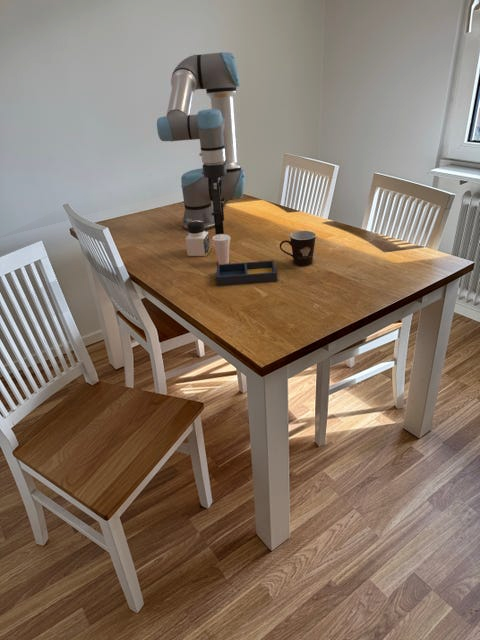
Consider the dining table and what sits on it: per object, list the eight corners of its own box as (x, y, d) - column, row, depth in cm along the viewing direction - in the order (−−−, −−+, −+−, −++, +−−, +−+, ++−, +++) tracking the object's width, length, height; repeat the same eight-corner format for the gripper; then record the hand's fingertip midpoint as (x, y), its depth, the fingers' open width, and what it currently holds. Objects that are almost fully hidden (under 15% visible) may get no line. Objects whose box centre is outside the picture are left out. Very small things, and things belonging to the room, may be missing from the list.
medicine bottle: (205, 256, 169) (202, 225, 163) (187, 256, 170) (183, 225, 164) (210, 249, 175) (207, 218, 169) (192, 249, 176) (188, 219, 170)
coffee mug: (317, 258, 160) (318, 231, 155) (312, 268, 153) (313, 240, 148) (285, 256, 164) (284, 229, 159) (279, 266, 157) (278, 238, 152)
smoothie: (214, 260, 165) (210, 223, 158) (231, 258, 165) (228, 221, 158) (215, 267, 160) (210, 229, 153) (233, 265, 160) (229, 227, 153)
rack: (217, 272, 156) (217, 264, 154) (274, 268, 156) (273, 260, 154) (217, 285, 147) (216, 277, 146) (276, 281, 147) (276, 272, 145)
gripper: (204, 156, 156) (210, 216, 166) (200, 172, 134) (207, 240, 145) (225, 154, 156) (230, 215, 166) (225, 170, 134) (231, 238, 145)
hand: (220, 227), depth 156 cm, fingers open, 13 cm apart
